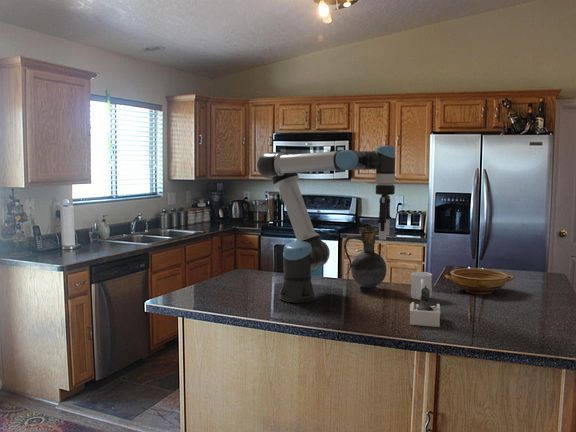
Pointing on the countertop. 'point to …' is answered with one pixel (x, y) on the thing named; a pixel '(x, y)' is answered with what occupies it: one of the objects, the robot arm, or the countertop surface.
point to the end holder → (424, 317)
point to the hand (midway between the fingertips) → (384, 237)
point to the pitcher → (367, 261)
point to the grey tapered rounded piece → (425, 300)
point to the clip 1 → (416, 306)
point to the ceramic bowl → (479, 279)
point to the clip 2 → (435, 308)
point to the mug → (420, 283)
